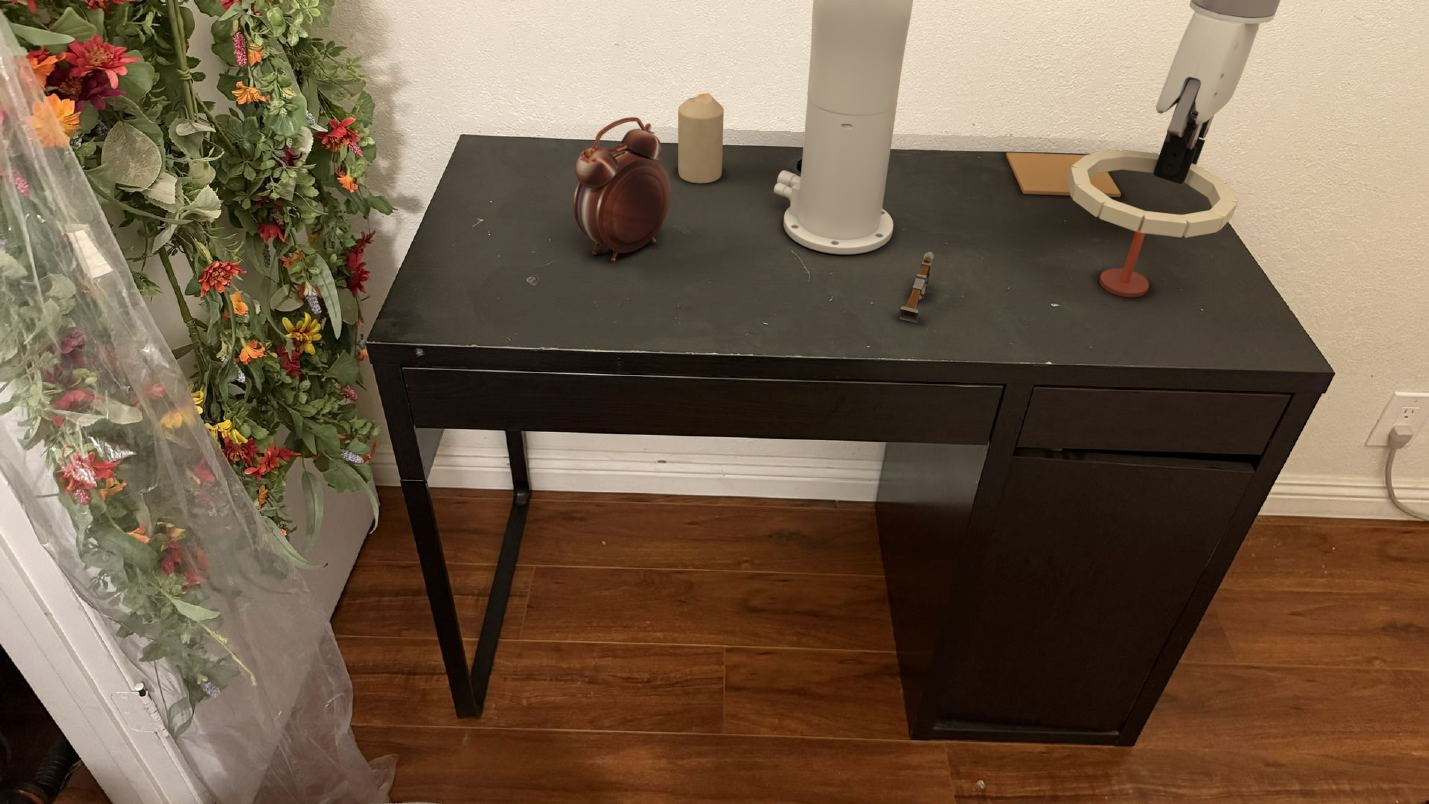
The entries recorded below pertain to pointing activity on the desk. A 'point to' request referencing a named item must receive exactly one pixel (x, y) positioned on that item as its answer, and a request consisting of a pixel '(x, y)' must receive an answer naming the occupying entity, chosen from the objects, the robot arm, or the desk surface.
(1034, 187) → the mat
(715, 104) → the candle
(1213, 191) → the ring
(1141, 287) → the post
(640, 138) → the alarm clock
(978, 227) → the desk surface
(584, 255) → the desk surface
